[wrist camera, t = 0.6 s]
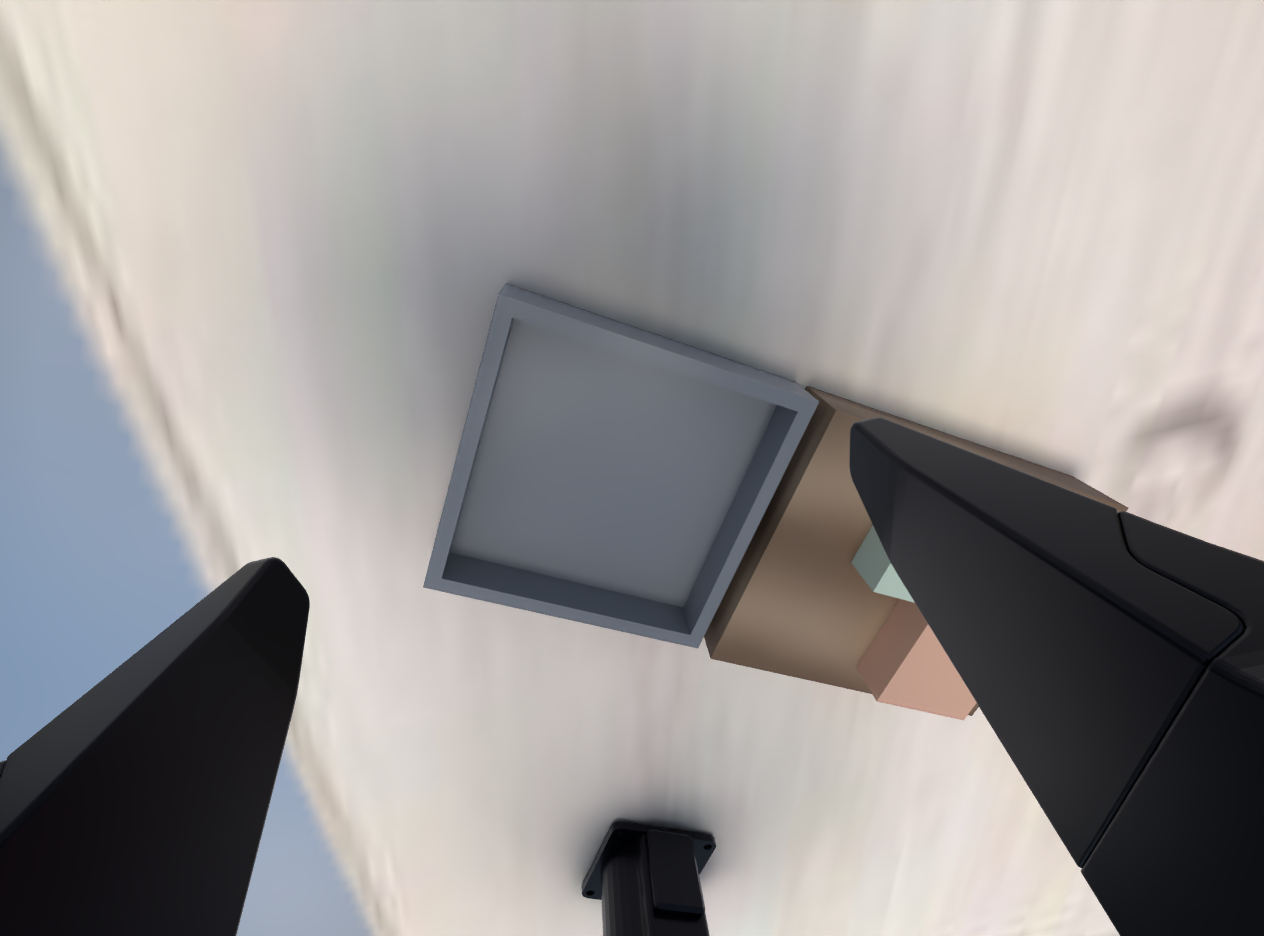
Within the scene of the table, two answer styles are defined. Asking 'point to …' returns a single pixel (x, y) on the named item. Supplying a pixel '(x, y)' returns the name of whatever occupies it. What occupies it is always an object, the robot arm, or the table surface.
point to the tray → (610, 472)
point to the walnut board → (822, 559)
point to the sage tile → (878, 568)
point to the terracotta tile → (913, 667)
